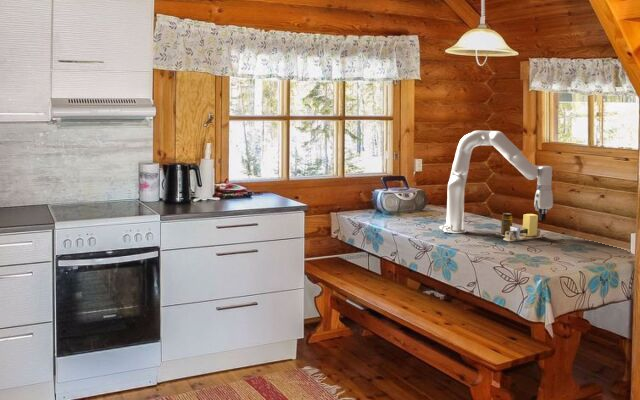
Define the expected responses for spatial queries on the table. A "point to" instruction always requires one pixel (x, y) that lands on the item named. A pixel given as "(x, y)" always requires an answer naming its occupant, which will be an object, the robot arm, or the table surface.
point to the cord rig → (510, 236)
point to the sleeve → (530, 224)
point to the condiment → (505, 223)
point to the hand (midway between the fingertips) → (542, 220)
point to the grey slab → (517, 232)
